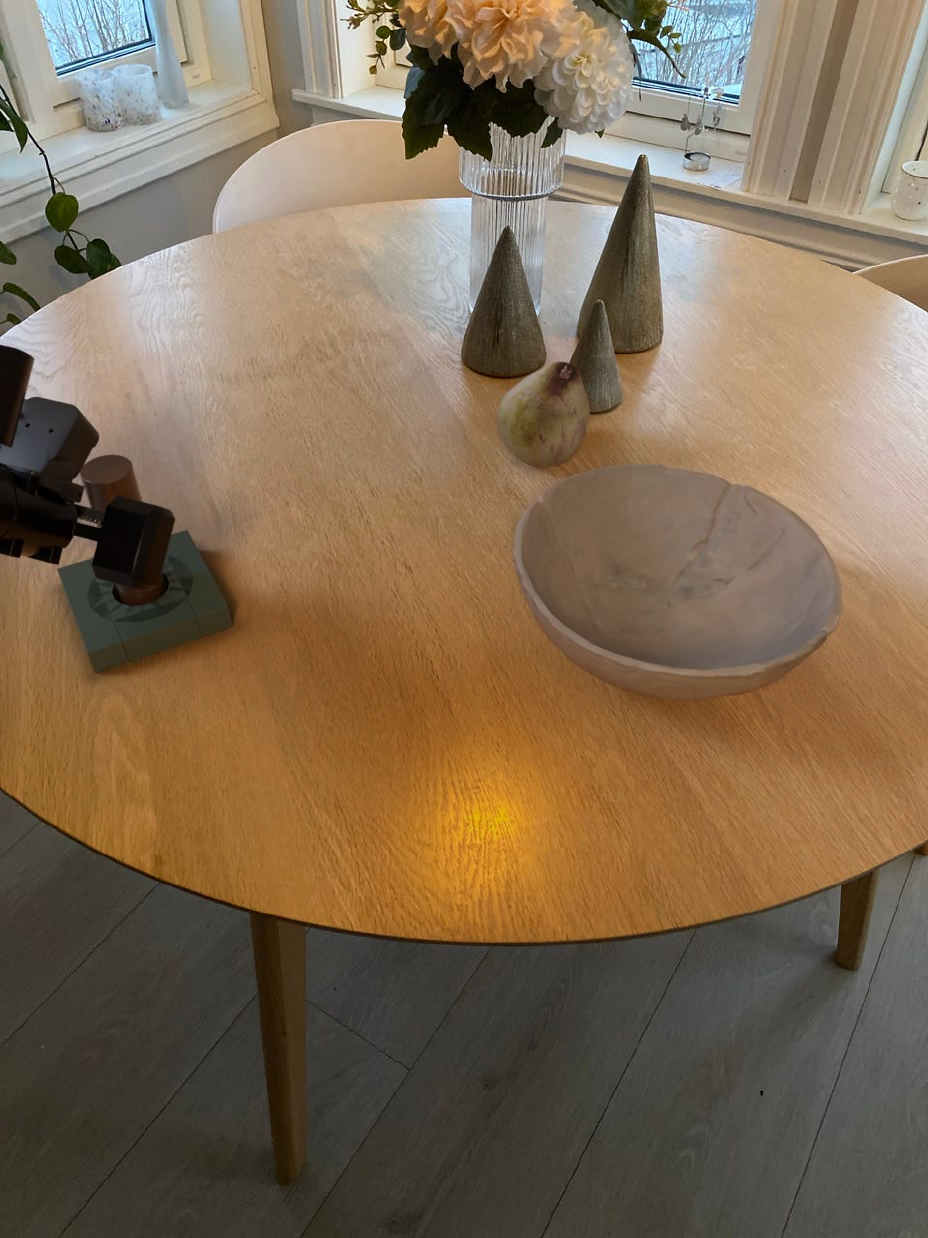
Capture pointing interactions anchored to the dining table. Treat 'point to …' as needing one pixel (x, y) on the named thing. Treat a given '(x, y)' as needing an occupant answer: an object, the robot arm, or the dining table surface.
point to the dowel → (101, 487)
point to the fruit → (545, 415)
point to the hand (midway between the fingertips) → (116, 537)
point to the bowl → (675, 581)
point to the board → (146, 608)
